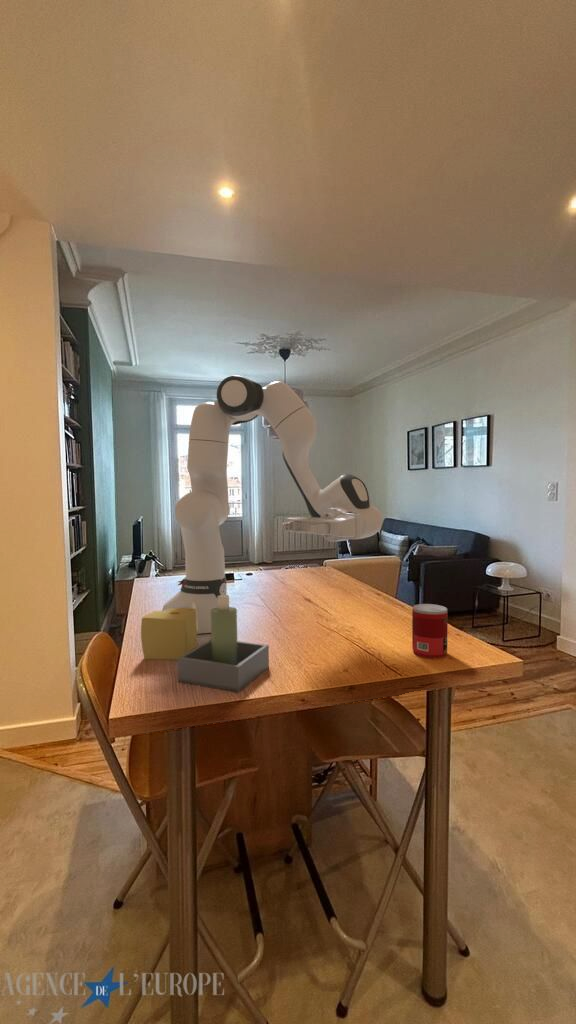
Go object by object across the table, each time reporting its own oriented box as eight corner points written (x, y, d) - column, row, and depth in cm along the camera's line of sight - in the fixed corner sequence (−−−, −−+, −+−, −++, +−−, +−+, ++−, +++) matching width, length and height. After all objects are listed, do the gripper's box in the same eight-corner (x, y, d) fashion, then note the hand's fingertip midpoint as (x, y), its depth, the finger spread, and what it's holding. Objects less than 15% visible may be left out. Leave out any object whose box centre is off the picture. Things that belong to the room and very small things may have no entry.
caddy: (178, 681, 97) (177, 657, 97) (214, 659, 110) (213, 637, 110) (238, 692, 92) (238, 667, 92) (268, 667, 105) (268, 645, 104)
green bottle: (207, 673, 99) (205, 597, 99) (220, 664, 105) (218, 592, 104) (230, 676, 97) (228, 599, 97) (242, 667, 102) (240, 594, 102)
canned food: (452, 658, 109) (452, 611, 108) (417, 659, 109) (417, 611, 108) (441, 647, 117) (441, 603, 116) (408, 648, 117) (408, 603, 116)
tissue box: (158, 645, 120) (157, 606, 120) (199, 646, 119) (198, 607, 119) (140, 660, 110) (139, 617, 110) (185, 661, 109) (184, 618, 108)
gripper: (308, 511, 132) (269, 513, 123) (365, 513, 116) (326, 516, 107) (308, 534, 132) (269, 537, 123) (365, 539, 116) (326, 544, 107)
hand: (296, 527), depth 115 cm, fingers open, 8 cm apart
